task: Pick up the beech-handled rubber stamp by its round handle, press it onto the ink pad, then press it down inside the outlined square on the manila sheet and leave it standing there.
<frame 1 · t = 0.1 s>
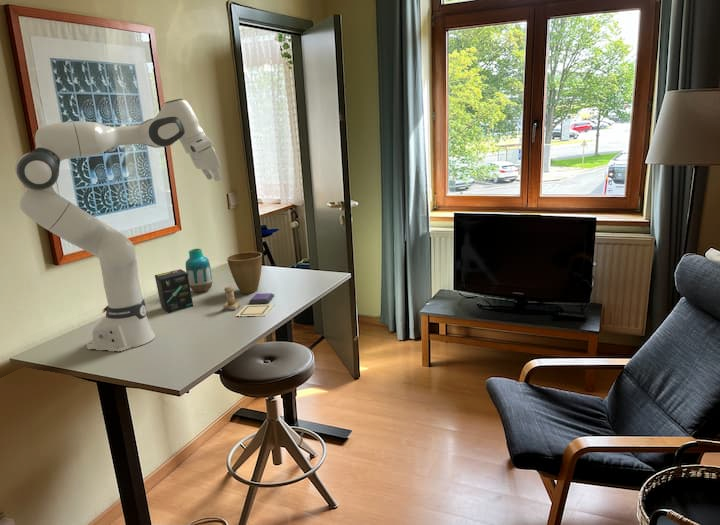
hand: (214, 179, 190), 52 cm above the table, tool tilted 20°, fingers open, 8 cm apart
stamp: (232, 308, 210), on the table
ink pad: (262, 300, 216), on the table
sheet: (255, 310, 205), on the table
vase: (202, 291, 235), on the table
plant pot: (249, 291, 230), on the table
tampon box: (177, 307, 217), on the table
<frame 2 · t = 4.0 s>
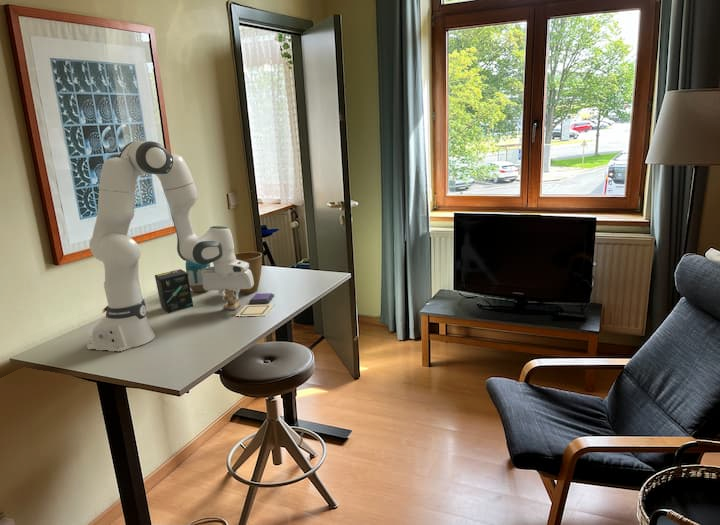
hand: (230, 299, 209), 4 cm above the table, tool pointing down, fingers closed on stamp, 3 cm apart
stamp: (232, 308, 210), on the table, touching gripper
everything else where it was.
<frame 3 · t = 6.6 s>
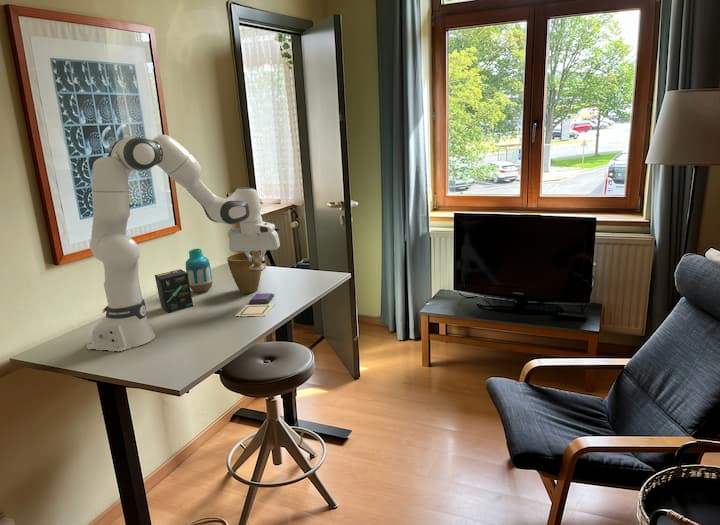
hand: (256, 261, 212), 17 cm above the table, tool pointing down, fingers closed on stamp, 3 cm apart
stamp: (258, 269, 213), point 13 cm above the table, touching gripper
everything else where it was.
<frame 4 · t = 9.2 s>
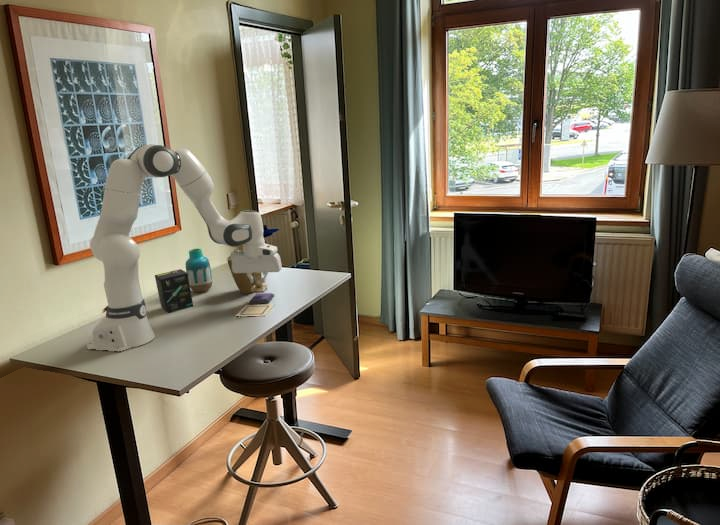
hand: (258, 282, 214), 8 cm above the table, tool pointing down, fingers closed on stamp, 3 cm apart
stamp: (259, 290, 215), point 4 cm above the table, touching gripper
everything else where it was.
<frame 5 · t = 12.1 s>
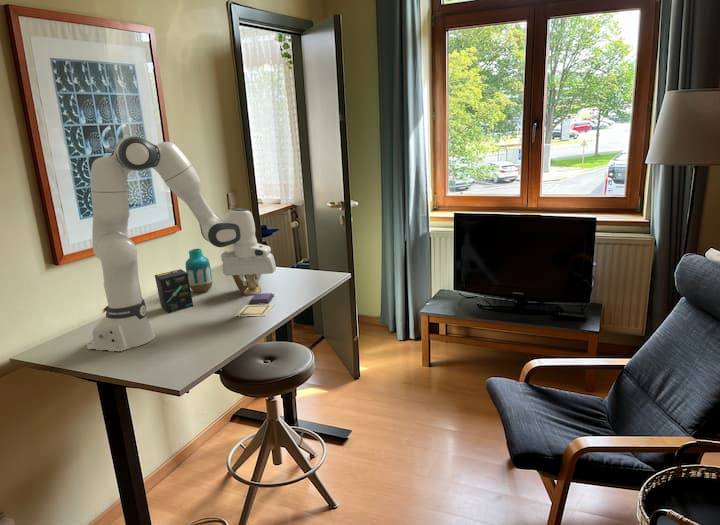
hand: (251, 284, 202), 11 cm above the table, tool pointing down, fingers closed on stamp, 3 cm apart
stamp: (253, 293, 203), point 7 cm above the table, touching gripper
everything else where it was.
when the fingers open (4 cm above the table, at t = 14.5 s): stamp stays where it is, resting on sheet.
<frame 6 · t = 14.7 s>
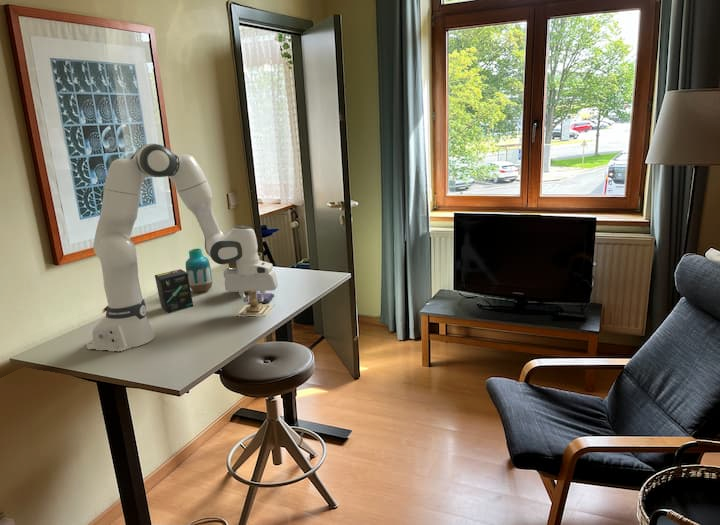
hand: (253, 301, 203), 4 cm above the table, tool pointing down, fingers open, 5 cm apart
stamp: (254, 310, 205), resting on sheet
everything else where it was.
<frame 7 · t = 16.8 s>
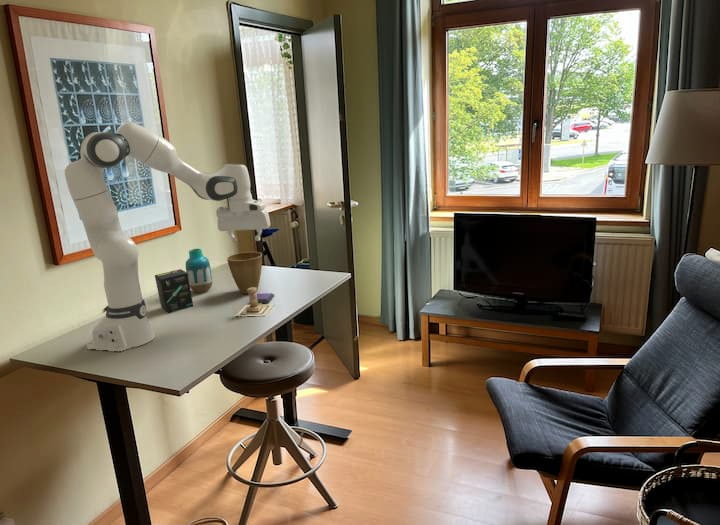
hand: (246, 241, 202), 27 cm above the table, tool pointing down, fingers open, 8 cm apart
nothing on the table moved.
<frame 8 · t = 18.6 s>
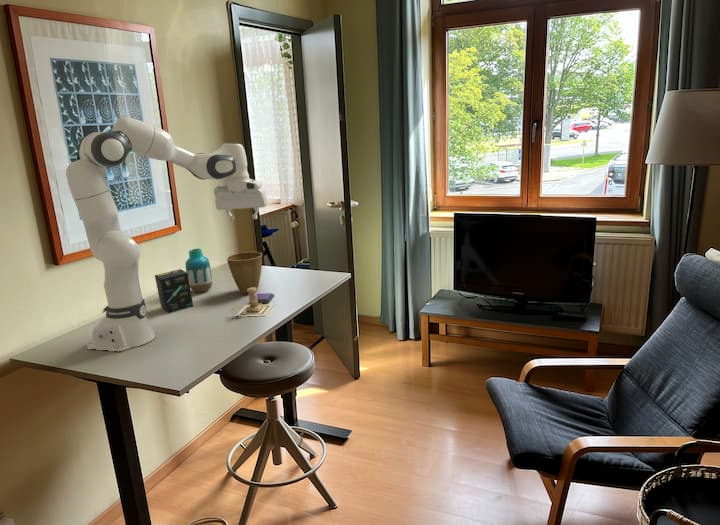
hand: (243, 219, 207), 34 cm above the table, tool pointing down, fingers open, 8 cm apart
nothing on the table moved.
at the end: stamp inside the target area on the sheet (0.1 cm from its centre), point 0.3 cm above the sheet's base; stamp tilted 0°; the gripper is holding nothing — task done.
